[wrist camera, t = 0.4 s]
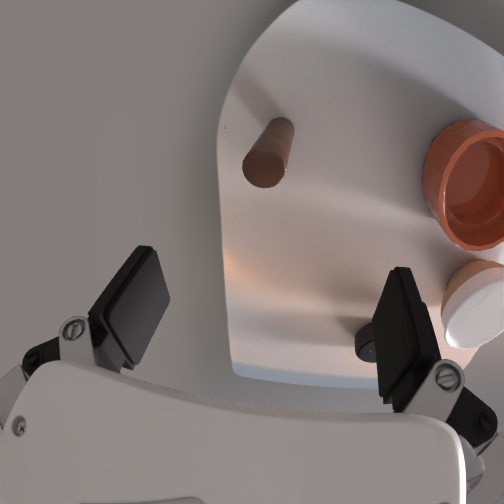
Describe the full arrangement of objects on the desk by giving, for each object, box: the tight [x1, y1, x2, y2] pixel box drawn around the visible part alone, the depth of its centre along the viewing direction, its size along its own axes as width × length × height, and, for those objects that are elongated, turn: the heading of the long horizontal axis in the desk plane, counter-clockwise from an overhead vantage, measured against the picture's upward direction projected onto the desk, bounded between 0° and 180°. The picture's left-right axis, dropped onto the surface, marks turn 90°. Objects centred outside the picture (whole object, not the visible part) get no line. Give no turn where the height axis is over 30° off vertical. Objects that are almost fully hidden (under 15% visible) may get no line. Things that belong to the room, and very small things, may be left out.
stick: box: [242, 117, 294, 188], centre depth 24 cm, size 3×3×14 cm
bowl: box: [441, 260, 504, 349], centre depth 33 cm, size 16×16×8 cm
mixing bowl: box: [422, 119, 504, 251], centre depth 25 cm, size 16×16×6 cm
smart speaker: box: [355, 324, 377, 363], centre depth 45 cm, size 9×9×4 cm
